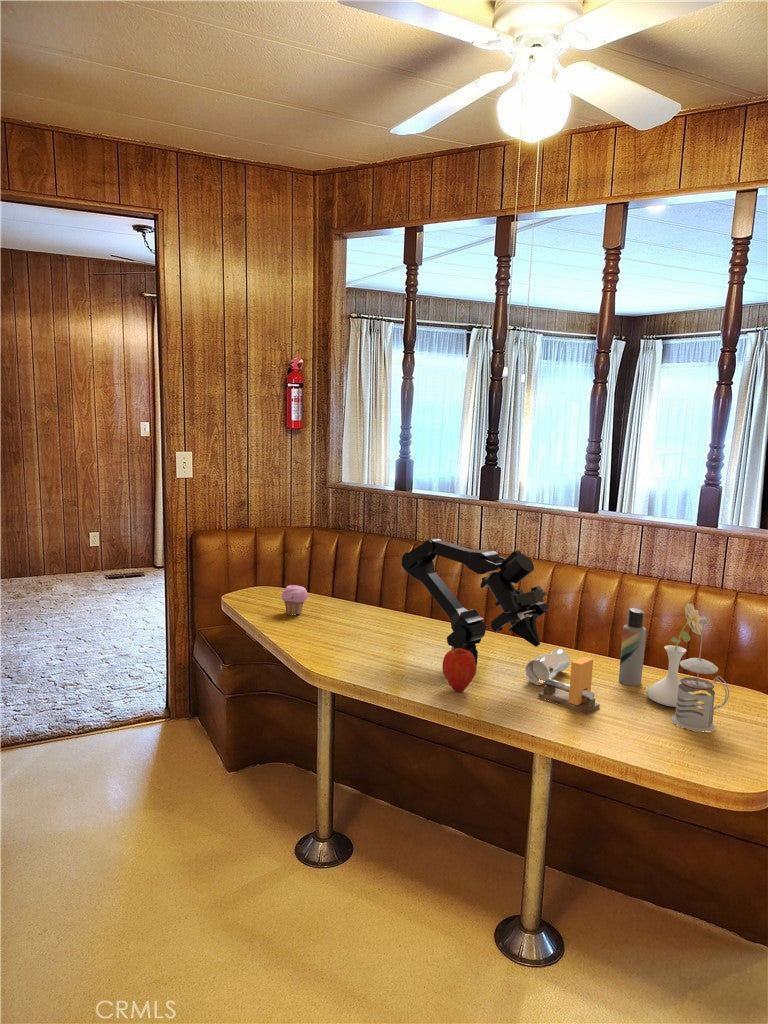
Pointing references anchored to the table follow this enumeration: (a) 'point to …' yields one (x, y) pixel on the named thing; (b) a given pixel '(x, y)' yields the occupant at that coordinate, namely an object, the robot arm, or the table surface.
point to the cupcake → (294, 599)
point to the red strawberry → (459, 668)
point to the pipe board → (563, 698)
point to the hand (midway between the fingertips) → (538, 645)
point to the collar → (580, 679)
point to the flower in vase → (675, 663)
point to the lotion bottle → (632, 648)
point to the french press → (697, 695)
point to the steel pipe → (566, 687)
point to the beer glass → (547, 666)
